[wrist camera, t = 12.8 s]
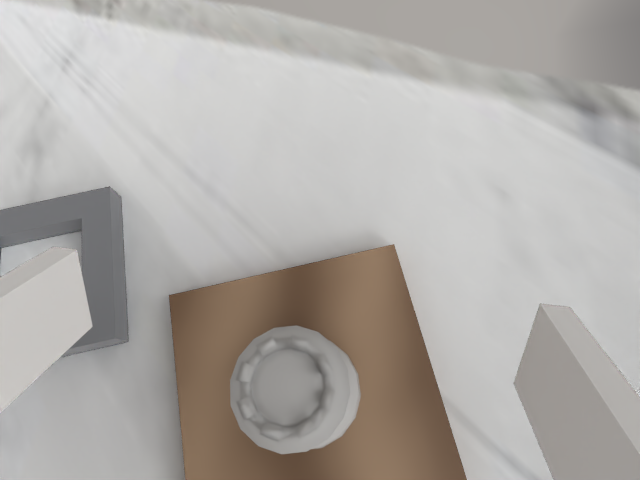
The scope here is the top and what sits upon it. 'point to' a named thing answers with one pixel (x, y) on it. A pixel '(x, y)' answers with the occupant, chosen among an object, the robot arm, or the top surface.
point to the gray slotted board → (83, 254)
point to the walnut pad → (345, 332)
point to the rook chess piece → (294, 390)
